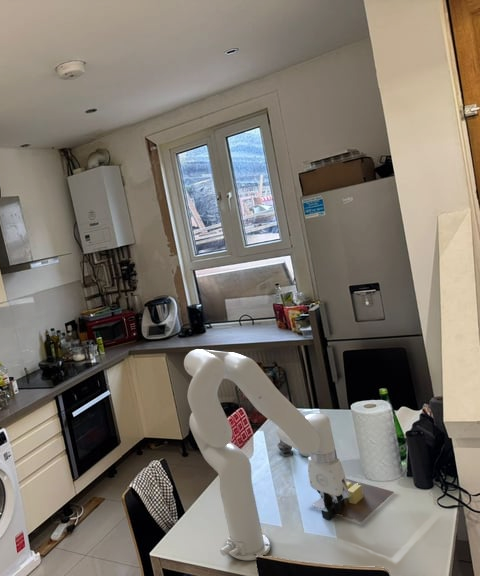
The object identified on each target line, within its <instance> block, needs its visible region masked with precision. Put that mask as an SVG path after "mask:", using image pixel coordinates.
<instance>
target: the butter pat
mask: <svg viewBox="0 0 480 576" xmlns="http://www.w3.org/2000/svg"><path fill="white" fill-rule="evenodd" d="M348 491H349V493H350V494H351V496H350V497H349V498H348V499H349V503H352V504H356V503H357V502H358V501H360V500H361V499H362V498H363V492H362V487H361V485H358V484H354V485H353V486H352V487H351V488H349V489H348Z"/></svg>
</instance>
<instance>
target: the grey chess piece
mask: <svg viewBox="0 0 480 576" xmlns="http://www.w3.org/2000/svg"><path fill="white" fill-rule="evenodd" d="M276 445H277V449H279V451H280V452H279V455H280V456H282V457H291V456H293V455H294V451H293V447H291V446H289V445H288V444H286V443H284V442H283V441H282V440H281V439H280V438H279V442H278V443H277V444H276Z"/></svg>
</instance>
